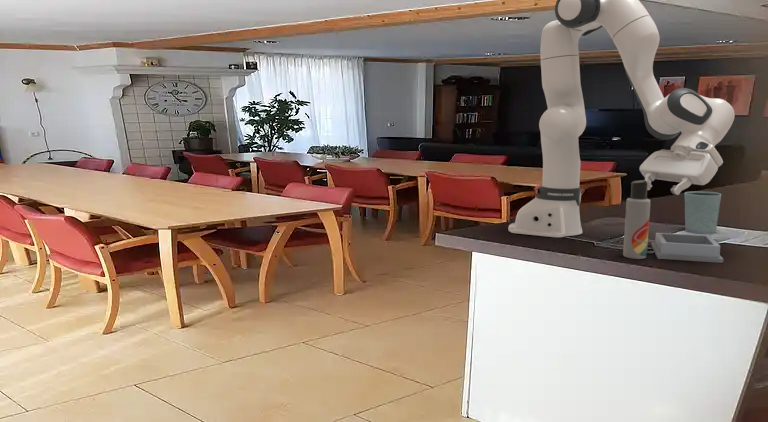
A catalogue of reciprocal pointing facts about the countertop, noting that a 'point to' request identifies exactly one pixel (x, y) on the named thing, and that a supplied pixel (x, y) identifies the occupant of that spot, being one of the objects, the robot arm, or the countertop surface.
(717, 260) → the shallow soap dish
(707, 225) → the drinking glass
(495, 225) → the countertop surface
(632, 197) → the lotion bottle
